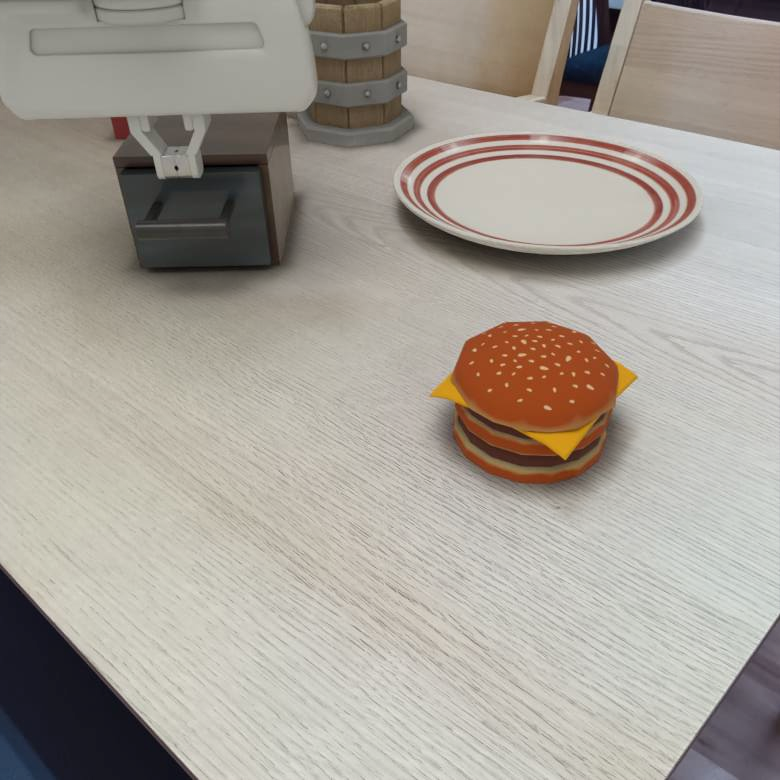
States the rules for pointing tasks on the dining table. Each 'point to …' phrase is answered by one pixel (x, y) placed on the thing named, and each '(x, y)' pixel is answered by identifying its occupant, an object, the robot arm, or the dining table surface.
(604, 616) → the dining table surface
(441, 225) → the dinner plate
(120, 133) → the block
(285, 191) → the cabinet
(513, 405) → the hamburger
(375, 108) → the tankard
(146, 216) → the drawer
